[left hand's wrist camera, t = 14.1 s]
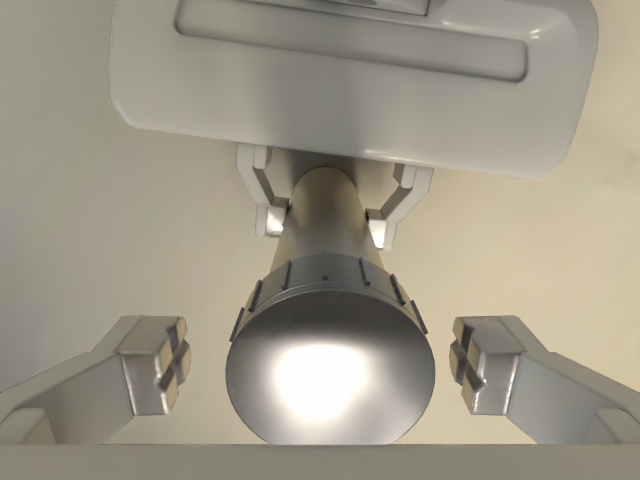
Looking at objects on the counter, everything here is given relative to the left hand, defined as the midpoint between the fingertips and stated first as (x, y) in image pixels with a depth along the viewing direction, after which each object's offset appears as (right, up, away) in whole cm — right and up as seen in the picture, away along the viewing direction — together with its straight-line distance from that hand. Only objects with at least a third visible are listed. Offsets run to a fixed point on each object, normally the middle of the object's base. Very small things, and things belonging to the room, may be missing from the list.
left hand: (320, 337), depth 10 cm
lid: (0, -1, -1) cm, 1 cm away
